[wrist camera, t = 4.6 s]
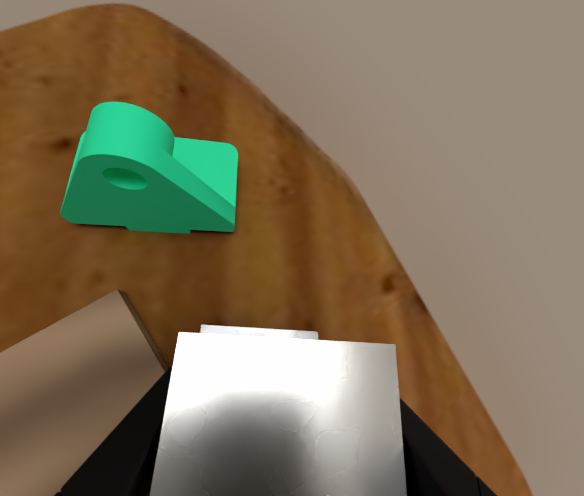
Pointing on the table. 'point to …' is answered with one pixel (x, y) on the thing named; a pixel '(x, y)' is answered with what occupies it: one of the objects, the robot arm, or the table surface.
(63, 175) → the table surface
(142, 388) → the stand
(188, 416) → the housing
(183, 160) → the camera mount
